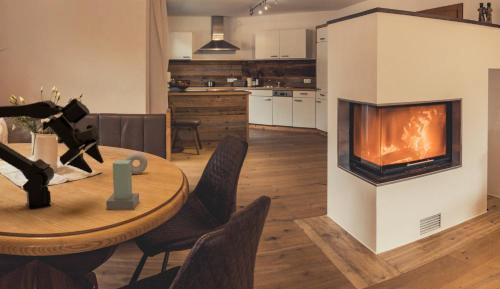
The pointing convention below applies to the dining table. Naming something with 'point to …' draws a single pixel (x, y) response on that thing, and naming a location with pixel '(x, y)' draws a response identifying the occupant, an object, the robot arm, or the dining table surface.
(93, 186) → the dining table surface
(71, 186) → the dining table surface
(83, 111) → the robot arm
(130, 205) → the slate plinth
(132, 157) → the donut
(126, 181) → the sage green block
